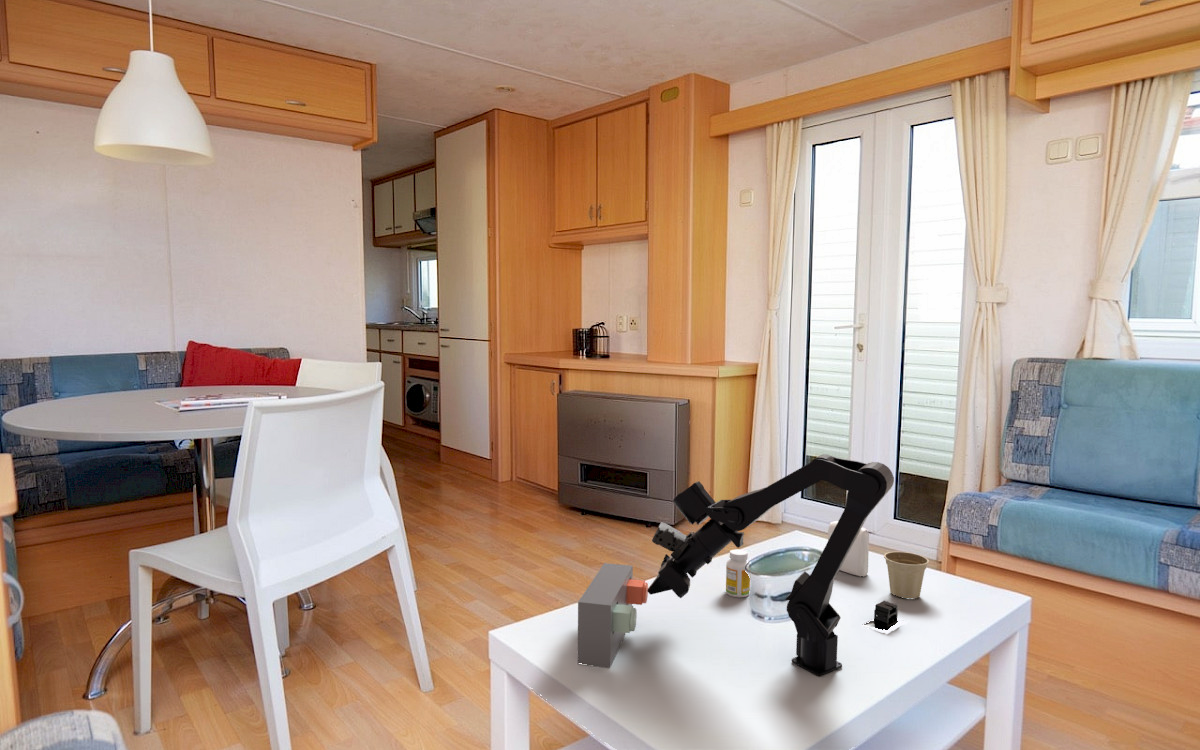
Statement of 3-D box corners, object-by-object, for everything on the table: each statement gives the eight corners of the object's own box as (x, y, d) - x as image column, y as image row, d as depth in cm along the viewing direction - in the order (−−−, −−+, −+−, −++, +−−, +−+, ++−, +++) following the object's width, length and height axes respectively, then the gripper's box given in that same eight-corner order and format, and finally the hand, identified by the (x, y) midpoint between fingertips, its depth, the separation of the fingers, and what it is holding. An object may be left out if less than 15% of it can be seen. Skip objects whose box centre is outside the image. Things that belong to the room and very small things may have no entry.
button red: (647, 598, 142) (648, 579, 142) (644, 606, 138) (644, 586, 138) (625, 596, 143) (625, 577, 143) (621, 604, 139) (622, 584, 139)
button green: (636, 625, 129) (636, 604, 129) (632, 635, 125) (632, 613, 125) (612, 623, 130) (612, 602, 130) (607, 632, 126) (607, 610, 126)
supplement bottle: (748, 589, 162) (749, 548, 162) (751, 598, 157) (752, 556, 156) (724, 588, 163) (725, 547, 162) (726, 597, 157) (727, 555, 157)
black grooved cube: (887, 641, 138) (887, 618, 138) (852, 629, 143) (853, 606, 143) (916, 623, 146) (917, 602, 146) (882, 612, 151) (883, 591, 151)
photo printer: (824, 566, 178) (826, 519, 177) (834, 563, 181) (835, 516, 180) (860, 578, 170) (862, 528, 169) (870, 575, 173) (872, 525, 172)
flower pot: (873, 589, 163) (874, 553, 163) (906, 585, 166) (908, 549, 165) (902, 605, 154) (903, 566, 154) (936, 600, 157) (938, 562, 156)
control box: (631, 619, 145) (632, 565, 144) (610, 668, 125) (610, 605, 124) (603, 616, 146) (604, 563, 146) (577, 664, 126) (578, 602, 125)
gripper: (683, 500, 146) (630, 547, 150) (671, 525, 128) (611, 578, 132) (720, 540, 145) (666, 586, 148) (713, 571, 127) (652, 623, 130)
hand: (648, 592), depth 140 cm, fingers closed
